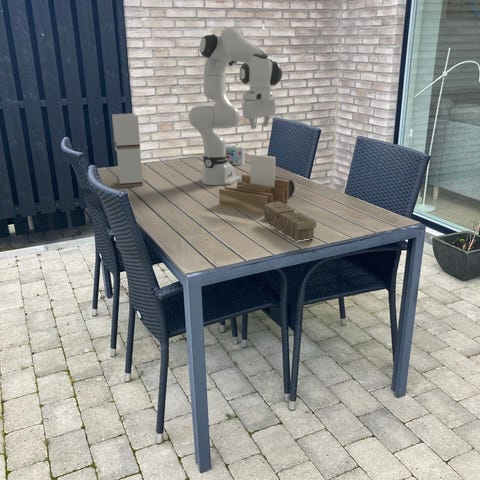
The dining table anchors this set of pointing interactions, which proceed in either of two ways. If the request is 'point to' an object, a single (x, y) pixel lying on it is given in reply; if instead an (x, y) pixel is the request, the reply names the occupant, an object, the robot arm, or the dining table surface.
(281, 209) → the block tower
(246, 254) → the dining table surface
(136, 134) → the grey stacked pillar
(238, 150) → the light bulb box
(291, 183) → the bluetooth speaker
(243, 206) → the rack
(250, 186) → the offcut top
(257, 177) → the white rectangular panel
